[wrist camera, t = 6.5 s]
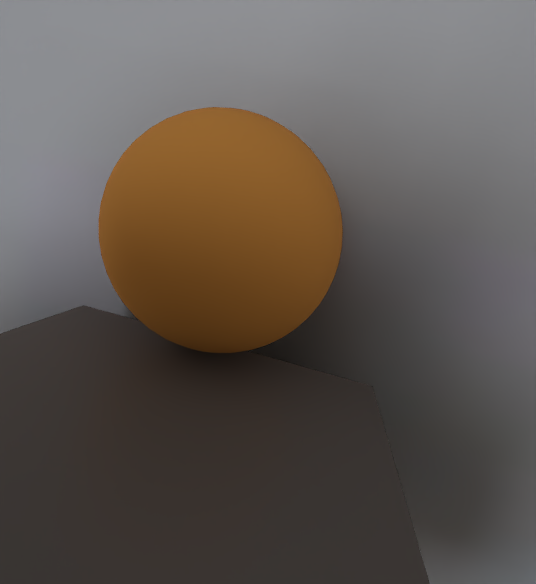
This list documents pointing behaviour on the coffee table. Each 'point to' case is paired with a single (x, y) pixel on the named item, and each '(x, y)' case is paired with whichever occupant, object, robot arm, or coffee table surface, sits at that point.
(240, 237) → the ball
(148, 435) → the grey cube
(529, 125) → the coffee table surface
